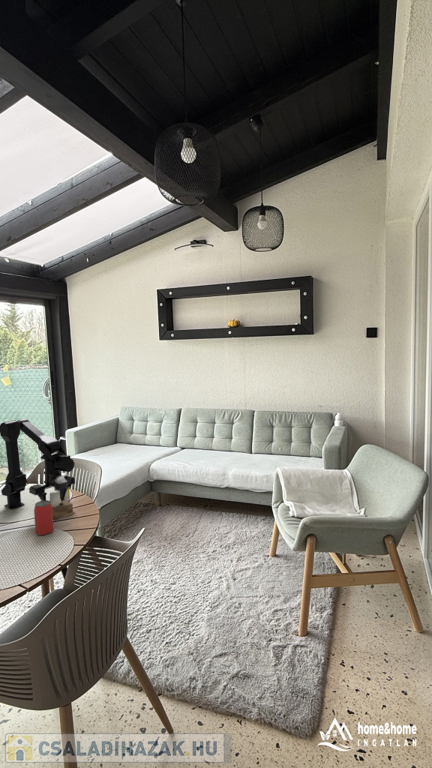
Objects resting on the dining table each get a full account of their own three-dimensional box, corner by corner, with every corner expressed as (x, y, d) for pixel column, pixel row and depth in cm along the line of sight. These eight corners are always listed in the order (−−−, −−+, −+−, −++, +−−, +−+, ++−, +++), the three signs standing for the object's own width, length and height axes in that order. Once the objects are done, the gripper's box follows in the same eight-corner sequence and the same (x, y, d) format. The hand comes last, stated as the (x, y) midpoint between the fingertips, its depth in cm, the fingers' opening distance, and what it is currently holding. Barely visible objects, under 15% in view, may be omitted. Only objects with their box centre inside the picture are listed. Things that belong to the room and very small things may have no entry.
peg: (52, 515, 179) (52, 495, 177) (47, 512, 181) (47, 492, 180) (61, 512, 182) (61, 492, 181) (56, 509, 184) (56, 490, 183)
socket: (34, 515, 180) (33, 506, 180) (59, 506, 190) (59, 497, 189) (49, 522, 173) (48, 512, 173) (74, 512, 182) (74, 503, 182)
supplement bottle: (64, 496, 202) (63, 471, 200) (72, 499, 198) (71, 473, 196) (52, 501, 196) (50, 475, 195) (60, 504, 192) (58, 477, 191)
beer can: (47, 536, 160) (45, 506, 159) (32, 535, 162) (30, 505, 160) (56, 529, 167) (55, 500, 165) (42, 527, 168) (40, 499, 167)
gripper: (41, 478, 167) (43, 515, 169) (81, 467, 182) (83, 501, 183) (27, 473, 174) (29, 509, 176) (67, 462, 189) (69, 495, 190)
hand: (54, 503), depth 181 cm, fingers open, 8 cm apart
